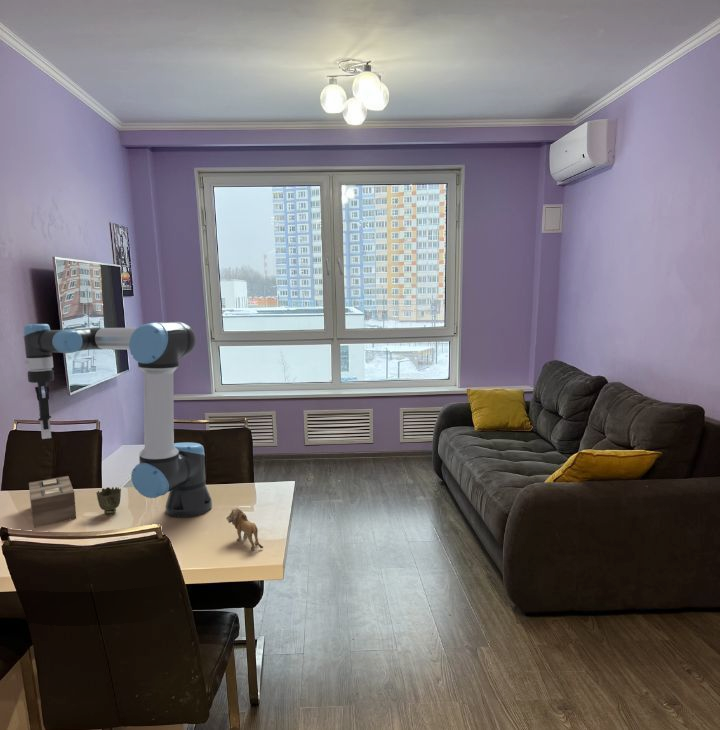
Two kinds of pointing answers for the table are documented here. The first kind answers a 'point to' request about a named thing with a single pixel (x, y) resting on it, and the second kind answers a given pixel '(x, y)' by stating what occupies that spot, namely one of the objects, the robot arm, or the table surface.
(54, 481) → the peg
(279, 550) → the table surface
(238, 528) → the lion figurine
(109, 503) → the cup
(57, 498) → the wooden box
